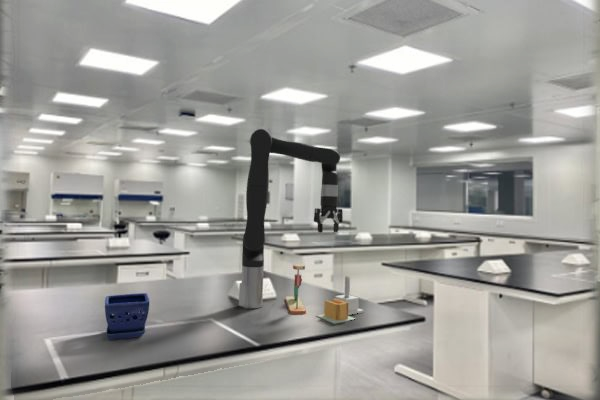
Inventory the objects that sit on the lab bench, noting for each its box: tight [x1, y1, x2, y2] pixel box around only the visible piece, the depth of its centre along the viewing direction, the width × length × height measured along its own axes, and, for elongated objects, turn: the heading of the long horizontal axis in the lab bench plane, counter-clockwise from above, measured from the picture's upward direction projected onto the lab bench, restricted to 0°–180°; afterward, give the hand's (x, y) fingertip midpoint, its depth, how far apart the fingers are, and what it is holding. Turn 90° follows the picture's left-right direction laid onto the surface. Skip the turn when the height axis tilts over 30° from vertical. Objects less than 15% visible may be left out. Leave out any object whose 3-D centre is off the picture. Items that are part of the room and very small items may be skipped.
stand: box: [334, 275, 365, 316], centre depth 169 cm, size 10×10×14 cm
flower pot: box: [104, 292, 150, 341], centre depth 131 cm, size 13×13×12 cm
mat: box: [316, 313, 357, 325], centre depth 158 cm, size 11×11×1 cm
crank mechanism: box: [284, 263, 307, 315], centre depth 174 cm, size 25×7×19 cm, turn 7°
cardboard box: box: [323, 298, 349, 321], centre depth 158 cm, size 5×8×6 cm
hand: (327, 232), depth 177 cm, fingers open, 8 cm apart
